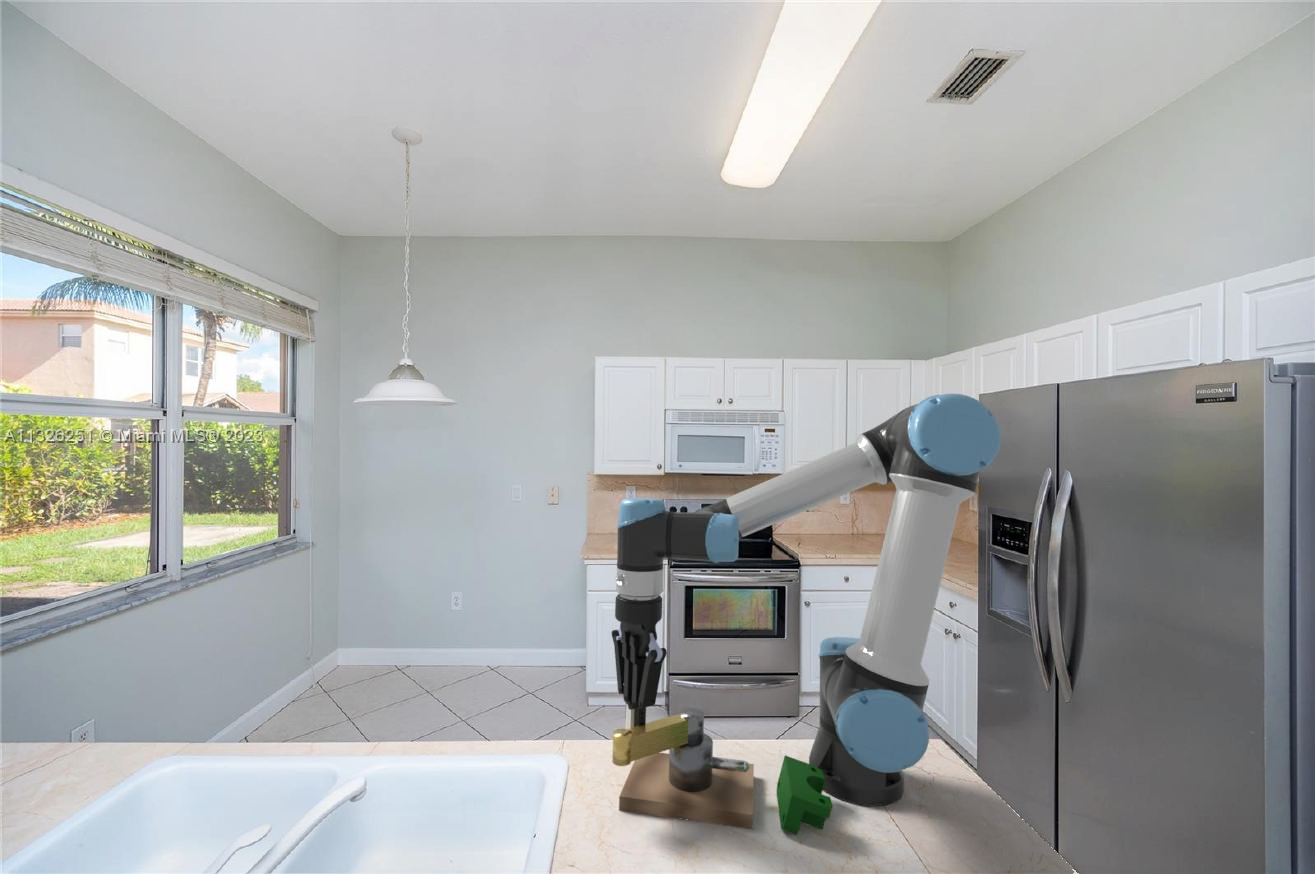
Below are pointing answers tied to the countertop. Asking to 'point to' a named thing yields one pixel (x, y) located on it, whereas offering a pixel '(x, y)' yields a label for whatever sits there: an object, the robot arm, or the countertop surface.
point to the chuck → (698, 765)
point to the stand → (689, 794)
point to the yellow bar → (658, 736)
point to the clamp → (801, 796)
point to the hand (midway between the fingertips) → (634, 746)
